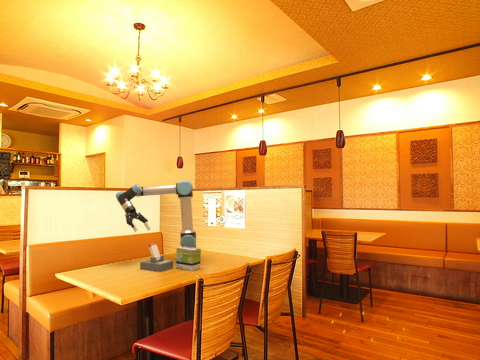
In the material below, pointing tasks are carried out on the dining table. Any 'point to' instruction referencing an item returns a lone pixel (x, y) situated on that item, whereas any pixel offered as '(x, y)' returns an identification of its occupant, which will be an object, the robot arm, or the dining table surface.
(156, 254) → the breaker lever
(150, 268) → the breaker housing
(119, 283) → the dining table surface
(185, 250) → the tea box
